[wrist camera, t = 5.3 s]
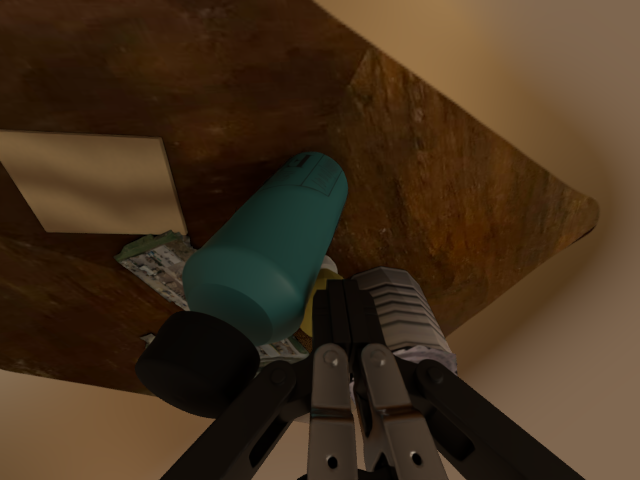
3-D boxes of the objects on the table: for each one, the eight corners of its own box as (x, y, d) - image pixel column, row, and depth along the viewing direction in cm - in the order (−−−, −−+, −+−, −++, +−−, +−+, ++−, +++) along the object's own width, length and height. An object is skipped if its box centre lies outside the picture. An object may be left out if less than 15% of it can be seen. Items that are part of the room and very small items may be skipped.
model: (184, 217, 27) (177, 226, 26) (311, 355, 44) (312, 365, 42) (41, 285, 32) (29, 296, 30) (206, 387, 48) (203, 397, 47)
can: (323, 282, 34) (331, 375, 24) (410, 253, 32) (456, 342, 22) (352, 331, 40) (366, 420, 31) (426, 310, 38) (467, 398, 28)
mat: (-13, 128, 22) (-20, 130, 22) (161, 137, 23) (158, 138, 23) (50, 229, 28) (46, 232, 27) (188, 232, 29) (186, 235, 28)
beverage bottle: (326, 128, 22) (141, 311, 6) (366, 192, 25) (306, 444, 9) (272, 167, 25) (60, 354, 10) (312, 220, 28) (196, 443, 12)
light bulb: (360, 264, 33) (379, 335, 24) (318, 290, 35) (322, 362, 27) (327, 230, 29) (335, 298, 21) (283, 260, 32) (275, 332, 24)
